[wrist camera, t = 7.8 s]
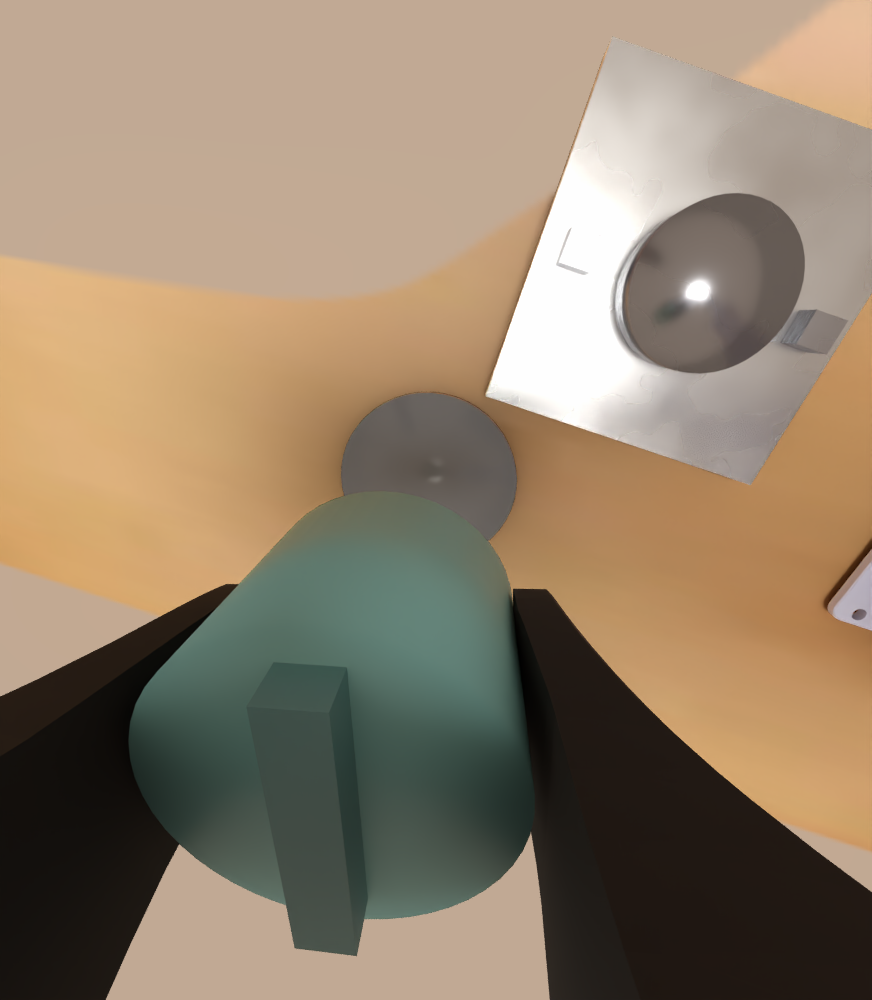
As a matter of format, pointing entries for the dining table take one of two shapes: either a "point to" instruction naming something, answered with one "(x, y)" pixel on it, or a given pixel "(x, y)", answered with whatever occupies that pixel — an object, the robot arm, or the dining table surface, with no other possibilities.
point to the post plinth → (632, 188)
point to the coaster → (435, 457)
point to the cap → (349, 722)
